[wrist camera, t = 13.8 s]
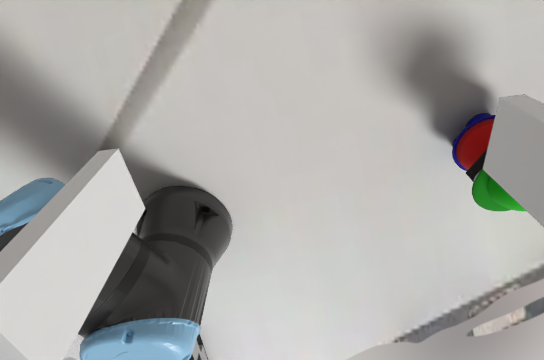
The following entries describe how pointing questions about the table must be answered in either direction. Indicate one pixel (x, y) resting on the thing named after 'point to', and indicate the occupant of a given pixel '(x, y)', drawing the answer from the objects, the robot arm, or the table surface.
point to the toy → (481, 164)
